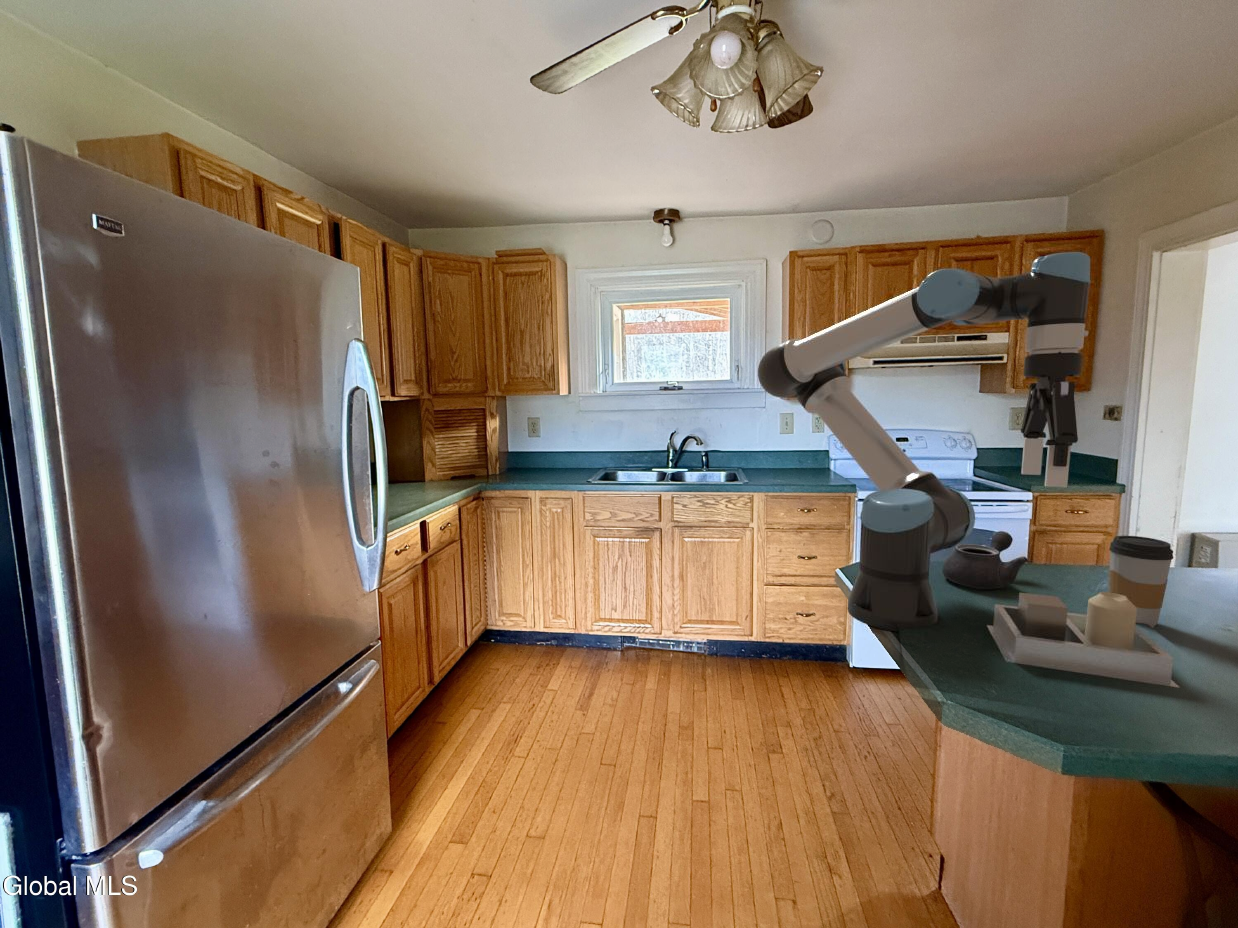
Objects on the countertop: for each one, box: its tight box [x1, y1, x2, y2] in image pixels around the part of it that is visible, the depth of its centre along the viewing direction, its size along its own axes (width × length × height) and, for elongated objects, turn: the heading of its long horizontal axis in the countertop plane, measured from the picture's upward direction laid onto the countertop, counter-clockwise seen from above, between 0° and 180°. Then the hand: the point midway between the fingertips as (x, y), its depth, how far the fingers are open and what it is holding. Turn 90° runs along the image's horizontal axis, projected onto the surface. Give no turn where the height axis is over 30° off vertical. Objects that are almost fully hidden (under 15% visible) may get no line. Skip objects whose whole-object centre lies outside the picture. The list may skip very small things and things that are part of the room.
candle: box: [1085, 591, 1137, 650], centre depth 83 cm, size 6×6×10 cm
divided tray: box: [986, 603, 1181, 688], centre depth 85 cm, size 20×14×5 cm
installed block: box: [1017, 592, 1069, 641], centre depth 87 cm, size 5×5×8 cm
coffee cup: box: [1108, 535, 1174, 629], centre depth 98 cm, size 8×8×15 cm
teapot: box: [942, 530, 1030, 590], centre depth 120 cm, size 19×15×10 cm
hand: (1042, 480), depth 93 cm, fingers open, 13 cm apart
